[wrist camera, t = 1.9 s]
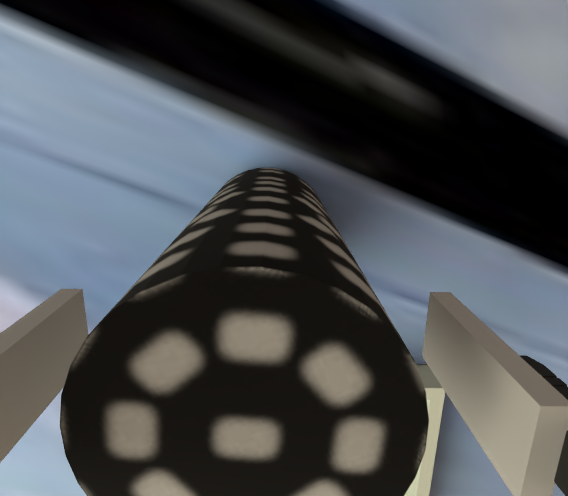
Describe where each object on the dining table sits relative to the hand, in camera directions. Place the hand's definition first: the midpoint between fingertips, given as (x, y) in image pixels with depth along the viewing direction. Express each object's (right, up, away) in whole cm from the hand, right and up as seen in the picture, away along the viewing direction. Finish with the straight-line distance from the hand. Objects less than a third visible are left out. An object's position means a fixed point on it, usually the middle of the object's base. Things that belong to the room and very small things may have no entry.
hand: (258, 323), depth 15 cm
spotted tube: (0, +4, +13) cm, 14 cm away
